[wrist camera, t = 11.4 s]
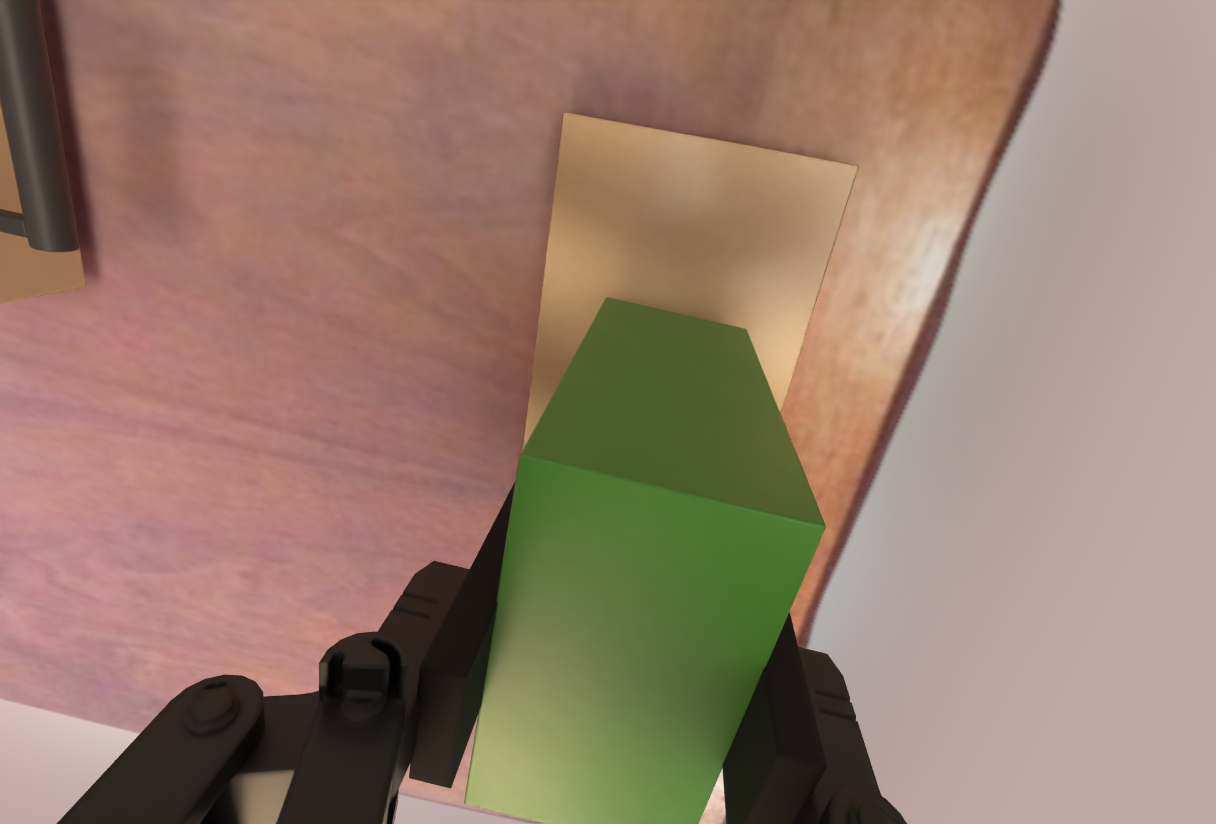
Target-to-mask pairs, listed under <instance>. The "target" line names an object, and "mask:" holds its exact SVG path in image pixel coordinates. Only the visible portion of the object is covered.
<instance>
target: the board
mask: <svg viewBox="0 0 1216 824" xmlns="http://www.w3.org/2000/svg"><path fill="white" fill-rule="evenodd" d="M857 170H858V165H854V164H849V163H843V162H838V161H832V160H827V159H821V158H816V157H810V156H805V155H799V154H794V153H788V152H783V151H777V150H772V149H766V148H761V147H755V146H749V145H744V144H738V143H733V142H727V141H722V140H716V139H711V138H705V137H700V136H694V135H689V134H683V133H678V132H672V131H667V130H661V129H655V128H650V127H644V126H639V125H633V124H628V123H622V122H617V121H611V120H606V119H600V118H595V117H589V116H584V115H578V114H573V113H567V112H564V114H563V121H562V129H561V138H560V146H559V154H558V162H557V171H556V179H555V187H554V195H553V204H552V212H551V220H550V229H549V237H548V245H547V253H546V262H545V270H544V278H543V286H542V295H541V303H540V311H539V320H538V328H537V336H536V344H535V353H534V361H533V369H532V377H531V386H530V394H529V402H528V411H527V419H526V427H525V435H524V444H523V448H524V447H525V445H526V443H527V441H528V439H529V437H530V436H531V434H532V432H533V430H534V428H535V426H536V425H537V423H538V421H539V419H540V417H541V415H542V414H543V412H544V410H545V408H546V406H547V404H548V403H549V401H550V399H551V397H552V395H553V393H554V392H555V390H556V388H557V386H558V384H559V383H560V381H561V379H562V377H563V375H564V373H565V372H566V370H567V368H568V366H569V364H570V362H571V361H572V359H573V357H574V355H575V353H576V351H577V350H578V348H579V346H580V344H581V342H582V340H583V339H584V337H585V335H586V333H587V331H588V329H589V328H590V326H591V324H592V322H593V320H594V318H595V317H596V315H597V313H598V311H599V309H600V307H601V306H602V304H603V302H604V300H605V298H606V297H609V298H613V299H618V300H622V301H626V302H631V303H635V304H639V305H644V306H648V307H653V308H657V309H661V310H666V311H670V312H674V313H679V314H683V315H687V316H692V317H696V318H701V319H705V320H709V321H714V322H718V323H722V324H727V325H731V326H735V327H740V328H744V329H747V331H748V334H749V336H750V339H751V341H752V344H753V346H754V349H755V351H756V354H757V356H758V359H759V361H760V364H761V366H762V369H763V371H764V374H765V376H766V379H767V381H768V384H769V386H770V389H771V391H772V394H773V396H774V398H775V401H776V403H777V406H778V408H779V411H780V413H781V411H782V408H783V405H784V401H785V398H786V395H787V392H788V389H789V386H790V382H791V379H792V376H793V373H794V370H795V367H796V363H797V360H798V357H799V354H800V351H801V348H802V344H803V341H804V338H805V335H806V332H807V329H808V325H809V322H810V319H811V316H812V313H813V310H814V306H815V303H816V300H817V297H818V294H819V291H820V287H821V284H822V281H823V278H824V275H825V272H826V268H827V265H828V262H829V259H830V256H831V253H832V249H833V246H834V243H835V240H836V237H837V234H838V230H839V227H840V224H841V221H842V218H843V215H844V211H845V208H846V205H847V202H848V199H849V196H850V192H851V189H852V186H853V183H854V180H855V177H856V173H857Z"/></svg>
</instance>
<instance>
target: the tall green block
mask: <svg viewBox="0 0 1216 824" xmlns="http://www.w3.org/2000/svg"><path fill="white" fill-rule="evenodd" d="M825 528H826V527H825V523H824V521H823V518H822V516H821V513H820V511H819V508H818V506H817V503H816V501H815V498H814V496H813V493H812V491H811V488H810V486H809V483H808V481H807V478H806V476H805V473H804V471H803V468H802V466H801V463H800V461H799V458H798V456H797V453H796V451H795V448H794V446H793V443H792V441H791V438H790V436H789V433H788V431H787V428H786V426H785V423H784V421H783V418H782V416H781V413H780V411H779V408H778V406H777V403H776V401H775V398H774V396H773V394H772V391H771V389H770V386H769V384H768V381H767V379H766V376H765V374H764V371H763V369H762V366H761V364H760V361H759V359H758V356H757V354H756V351H755V349H754V346H753V344H752V341H751V339H750V336H749V334H748V331H747V329H744V328H740V327H735V326H731V325H727V324H722V323H718V322H714V321H709V320H705V319H701V318H696V317H692V316H687V315H683V314H679V313H674V312H670V311H666V310H661V309H657V308H653V307H648V306H644V305H639V304H635V303H631V302H626V301H622V300H618V299H613V298H609V297H606V298H605V300H604V302H603V304H602V306H601V307H600V309H599V311H598V313H597V315H596V317H595V318H594V320H593V322H592V324H591V326H590V328H589V329H588V331H587V333H586V335H585V337H584V339H583V340H582V342H581V344H580V346H579V348H578V350H577V351H576V353H575V355H574V357H573V359H572V361H571V362H570V364H569V366H568V368H567V370H566V372H565V373H564V375H563V377H562V379H561V381H560V383H559V384H558V386H557V388H556V390H555V392H554V393H553V395H552V397H551V399H550V401H549V403H548V404H547V406H546V408H545V410H544V412H543V414H542V415H541V417H540V419H539V421H538V423H537V425H536V426H535V428H534V430H533V432H532V434H531V436H530V437H529V439H528V441H527V443H526V445H525V447H524V448H523V450H522V452H521V454H520V457H519V463H518V469H517V475H516V482H515V488H514V494H513V500H512V507H511V513H510V519H509V525H508V532H507V538H506V544H505V550H504V557H503V563H502V569H501V575H500V581H499V588H498V594H497V600H496V601H497V603H498V604H497V610H496V616H495V622H494V629H493V635H492V641H491V647H490V653H489V660H488V666H487V672H486V678H485V684H484V691H483V697H482V703H481V707H480V710H479V713H478V719H477V725H476V731H475V737H474V744H473V750H472V756H471V762H470V769H469V775H468V781H467V787H466V794H465V800H464V803H465V804H466V805H470V806H474V807H478V808H482V809H486V810H490V811H494V812H498V813H502V814H506V815H510V816H514V817H518V818H522V819H526V820H530V821H534V822H538V823H542V824H698V823H699V821H700V819H701V816H702V814H703V812H704V809H705V807H706V805H707V802H708V800H709V798H710V795H711V793H712V791H713V788H714V786H715V784H716V781H717V779H718V777H719V774H720V772H721V770H722V767H723V766H722V765H723V763H724V761H725V758H726V756H727V754H728V751H729V749H730V747H731V744H732V742H733V740H734V737H735V735H736V733H737V730H738V728H739V726H740V723H741V721H742V719H743V716H744V714H745V712H746V709H747V707H748V705H749V702H750V700H751V698H752V695H753V693H754V690H755V688H756V686H757V683H758V681H759V679H760V676H761V674H762V672H763V669H764V667H766V665H767V663H768V660H769V658H770V656H771V653H772V651H773V649H774V646H775V644H776V642H777V639H778V637H779V635H780V632H781V630H782V628H783V625H784V623H785V621H786V618H787V616H788V614H789V611H790V609H791V607H792V604H793V602H794V600H795V598H796V595H797V593H798V591H799V588H800V586H801V584H802V581H803V579H804V577H805V574H806V572H807V570H808V567H809V565H810V563H811V560H812V558H813V556H814V553H815V551H816V549H817V546H818V544H819V542H820V539H821V537H822V535H823V532H824V530H825Z"/></svg>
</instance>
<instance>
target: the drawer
mask: <svg viewBox="0 0 1216 824" xmlns="http://www.w3.org/2000/svg"><path fill="white" fill-rule="evenodd" d="M85 286H86V283H85V277H84V271H83V265H82V259H81V253H80V245H79V239H78V233H77V227H76V221H75V215H74V209H73V203H72V197H71V191H70V185H69V179H68V173H67V167H66V161H65V155H64V149H63V142H62V136H61V130H60V124H59V118H58V112H57V106H56V100H55V94H54V88H53V82H52V76H51V70H50V64H49V58H48V52H47V46H46V40H45V34H44V28H43V22H42V16H41V10H40V4H39V0H0V304H4V303H9V302H14V301H18V300H23V299H28V298H33V297H38V296H42V295H47V294H52V293H57V292H61V291H66V290H71V289H76V288H81V287H85Z"/></svg>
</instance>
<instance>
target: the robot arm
mask: <svg viewBox="0 0 1216 824" xmlns="http://www.w3.org/2000/svg"><path fill="white" fill-rule="evenodd" d="M515 482H516V481H515ZM514 488H515V483H514V485H513V487H512V489H511V490H510V492H509V494H508V496H507V498H506V500H505V502H504V504H503V506H502V508H501V510H500V512H499V514H498V516H497V518H496V520H495V522H494V523H493V525H492V527H491V529H490V531H489V533H488V535H487V537H486V539H485V541H484V543H483V545H482V547H481V549H480V551H479V553H478V555H477V556H476V558H475V560H474V562H473V564H472V566H471V568H470V569H466V568H462V567H458V566H453V565H449V564H445V563H441V562H437V561H433V562H432V563H430V564H429V565H427V566H426V567H424V568H423V569H421V570H420V571H418V572H417V573H416V574H414V576H413V578H412V579H411V581H410V582H409V584H408V585H407V587H406V588H405V590H404V592H403V595H401V596H400V598H399V599H398V601H397V602H396V604H395V606H394V608H393V610H391V612H390V613H389V615H388V616H387V618H386V620H385V621H384V623H383V624H382V626H381V627H380V629H379V630H378V632H366V633H357V634H354V635H352V636H349V637H346V638H344V639H341V640H340V641H339V642H337V643H336V644H335V645H333V646H332V647H331V648H329V649H328V650H327V652H326V653H325V655H324V656H323V658H322V659H321V661H320V662H319V691H316V692H313V693H307V694H300V695H283V696H265V697H263V691H262V690H261V689H260V687H259V686H258V684H257V683H256V682H255V681H253V680H251V679H249V678H246V677H244V676H239V675H221V676H217V677H212V678H207V679H204V680H202V681H200V682H198V683H196V684H194V685H192V686H190V687H188V688H186V689H185V690H183V691H182V692H181V693H180V694H179V695H177V696H176V697H175V698H174V699H172V700H171V701H170V702H169V703H168V704H167V705H166V707H165V708H164V709H163V710H162V711H161V712H160V713H159V714H158V715H157V716H156V717H155V718H154V719H153V721H152V722H151V723H150V724H149V725H148V726H147V727H146V728H145V729H144V730H143V731H142V732H141V733H140V735H139V736H138V737H137V738H136V739H135V740H134V741H133V742H132V743H131V744H130V745H129V746H128V748H127V749H126V750H125V751H124V752H123V753H122V754H121V755H120V756H119V757H118V758H117V759H116V760H115V762H114V763H113V764H112V765H111V766H110V767H109V768H108V769H107V770H106V771H105V772H104V773H103V774H102V775H101V777H100V778H99V779H98V780H97V781H96V782H95V783H94V784H93V785H92V786H91V787H90V789H88V791H87V792H86V793H85V794H84V795H83V796H82V797H81V798H80V799H79V800H78V801H77V802H76V804H75V805H74V806H73V807H72V808H71V809H70V810H69V811H68V812H67V813H66V814H65V815H64V816H63V818H62V819H61V820H60V821H59V822H58V823H57V824H394V820H395V814H396V809H397V803H398V793H399V787H400V784H401V782H402V780H403V778H404V776H405V773H406V771H407V769H408V767H409V764H410V774H409V778H411V779H415V780H419V781H423V782H427V783H431V784H435V785H439V786H443V787H447V788H451V787H452V784H453V781H454V779H455V776H456V773H457V770H458V768H459V765H460V762H461V759H462V757H463V754H464V751H465V748H466V746H467V743H468V740H469V738H470V735H471V732H472V729H473V727H474V724H475V721H476V718H477V716H478V713H479V710H480V707H481V703H482V697H483V691H484V684H485V678H486V672H487V666H488V660H489V653H490V647H491V641H492V635H493V629H494V622H495V616H496V610H497V604H498V603H497V601H496V600H497V594H498V588H499V581H500V575H501V569H502V563H503V557H504V550H505V544H506V538H507V532H508V525H509V519H510V513H511V507H512V500H513V494H514ZM410 762H411V763H410ZM722 766H723V780H724V794H725V808H726V823H727V824H907V823H906V822H905V820H904V819H903V817H902V815H901V814H900V813H899V812H898V811H897V810H896V809H895V808H894V807H893V806H892V805H891V804H890V803H889V802H888V801H887V800H886V799H885V798H883V797H882V796H881V793H880V791H879V788H878V785H877V781H876V778H875V775H874V772H873V769H872V766H871V763H870V759H869V756H868V753H867V750H866V747H865V744H864V740H863V737H862V734H861V731H860V728H859V725H858V722H857V721H856V715H855V712H854V709H853V706H852V703H851V702H850V696H849V693H848V690H847V687H846V684H845V681H844V677H843V675H842V674H841V672H840V671H839V670H838V668H837V667H836V666H835V664H834V663H833V661H832V660H831V658H830V657H829V656H828V654H825V653H821V652H817V651H813V650H809V649H805V648H801V647H798V645H797V641H796V636H795V632H794V628H793V624H792V620H791V616H790V612H789V614H788V616H787V618H786V621H785V623H784V625H783V628H782V630H781V632H780V635H779V637H778V639H777V642H776V644H775V646H774V649H773V651H772V653H771V656H770V658H769V660H768V663H767V665H766V667H764V669H763V672H762V674H761V676H760V679H759V681H758V683H757V686H756V688H755V690H754V693H753V695H752V698H751V700H750V702H749V705H748V707H747V709H746V712H745V714H744V716H743V719H742V721H741V723H740V726H739V728H738V730H737V733H736V735H735V737H734V740H733V742H732V744H731V747H730V749H729V751H728V754H727V756H726V758H725V761H724V763H723V765H722Z"/></svg>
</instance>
